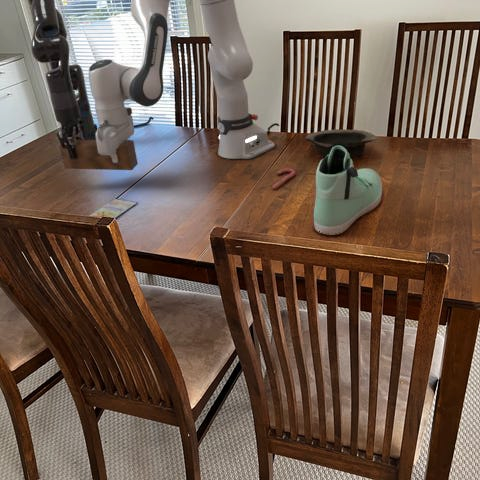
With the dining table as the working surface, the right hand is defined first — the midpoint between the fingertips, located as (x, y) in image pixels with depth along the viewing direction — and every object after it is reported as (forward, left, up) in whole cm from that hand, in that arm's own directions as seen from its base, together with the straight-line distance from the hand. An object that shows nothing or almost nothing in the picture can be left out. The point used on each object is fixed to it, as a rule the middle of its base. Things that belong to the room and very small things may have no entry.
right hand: (120, 157), depth 156 cm
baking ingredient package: (+11, +12, -11) cm, 20 cm away
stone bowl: (-70, +30, -11) cm, 77 cm away
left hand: (+10, -11, +1) cm, 15 cm away
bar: (+5, -6, -3) cm, 8 cm away
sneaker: (-42, +60, -11) cm, 75 cm away
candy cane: (-41, +32, -11) cm, 53 cm away
